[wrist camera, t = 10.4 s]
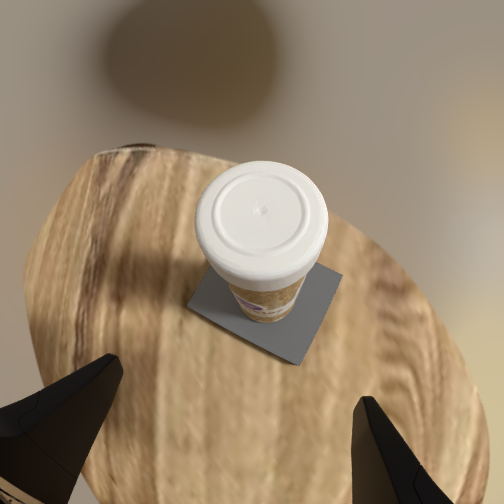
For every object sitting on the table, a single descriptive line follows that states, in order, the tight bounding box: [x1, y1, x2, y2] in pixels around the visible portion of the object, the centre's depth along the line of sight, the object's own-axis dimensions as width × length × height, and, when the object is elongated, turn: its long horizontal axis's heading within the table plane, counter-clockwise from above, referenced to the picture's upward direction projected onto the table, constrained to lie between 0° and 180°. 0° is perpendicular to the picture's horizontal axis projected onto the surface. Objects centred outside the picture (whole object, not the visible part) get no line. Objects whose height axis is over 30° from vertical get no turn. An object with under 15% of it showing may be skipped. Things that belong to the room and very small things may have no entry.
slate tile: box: [187, 262, 343, 366], centre depth 22 cm, size 8×10×1 cm
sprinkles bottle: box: [195, 161, 328, 323], centre depth 15 cm, size 5×5×13 cm
